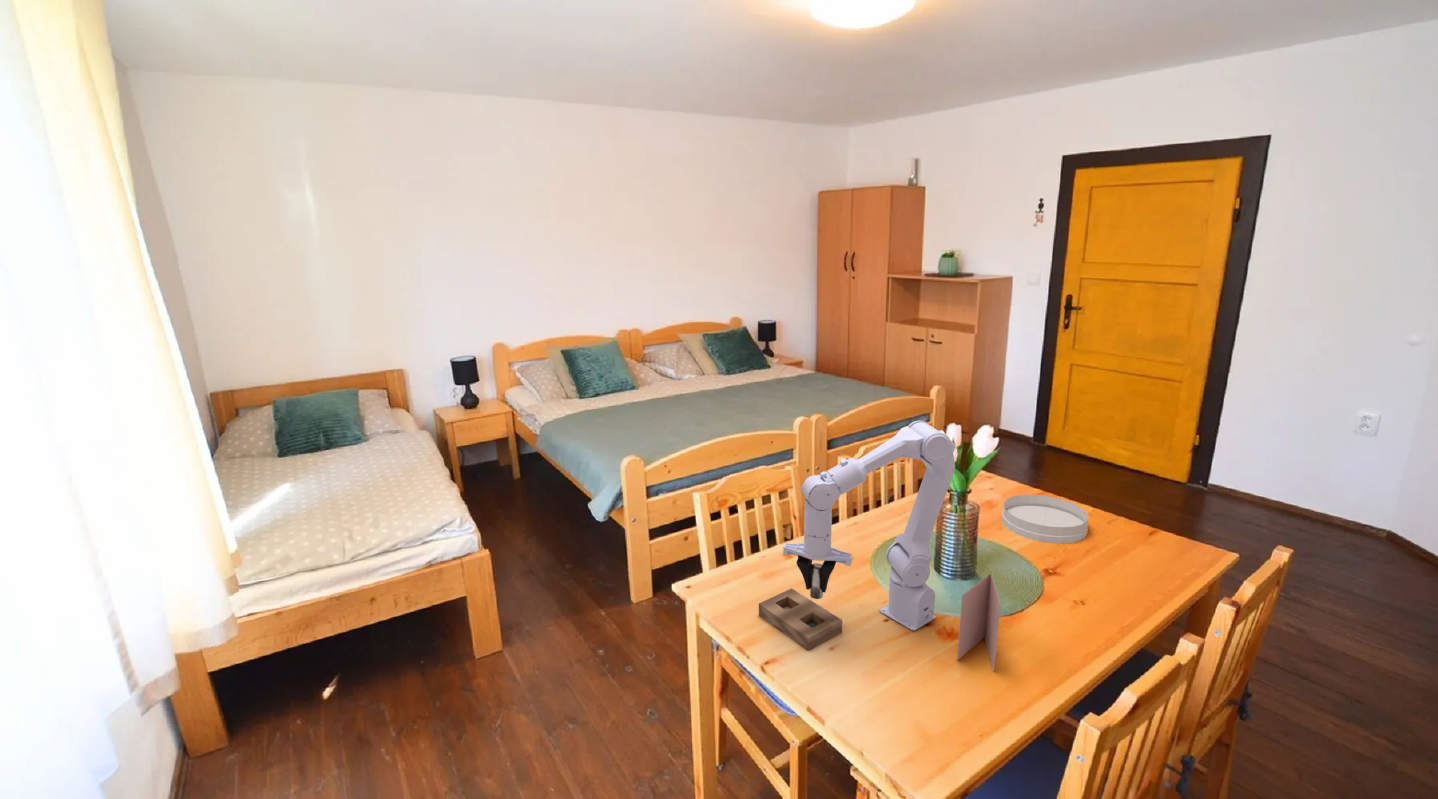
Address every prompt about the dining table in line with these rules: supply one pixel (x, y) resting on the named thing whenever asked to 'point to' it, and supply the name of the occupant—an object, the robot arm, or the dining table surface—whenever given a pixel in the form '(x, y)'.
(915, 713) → the dining table surface
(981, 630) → the greeting card
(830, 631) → the hole block
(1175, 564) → the dining table surface
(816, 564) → the pin
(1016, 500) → the dish
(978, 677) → the dining table surface
